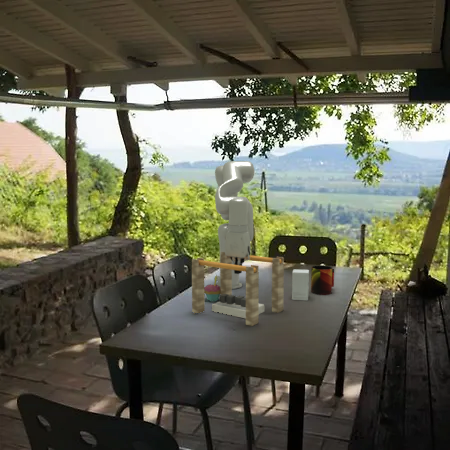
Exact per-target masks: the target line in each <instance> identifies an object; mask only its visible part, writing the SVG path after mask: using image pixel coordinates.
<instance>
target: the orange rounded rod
mask: <svg viewBox="0 0 450 450" xmlns="http://www.w3.org/2000/svg"><path fill="white" fill-rule="evenodd" d="M199 265H203V266H204V267H211V268H219V269H220V268H224V269H231V270H238V271H242V272H245V273H246V267H247V265H242V266H240V265H233V264H225V263H220V262H218V261H217V262H216V261H209V260H204V261H203V260H199ZM254 272H256V268H254Z"/></svg>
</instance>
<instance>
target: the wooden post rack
mask: <svg viewBox="0 0 450 450" xmlns="http://www.w3.org/2000/svg"><path fill="white" fill-rule="evenodd" d="M271 258H272V263H271V312H272V313H276V314H278V313H281V312H283V311H284V290H285V289H284V284H285V283H284V279H285V278H284V277H285V276H284V275H285V263H284V260H285V258H284V257H283V256H276V257H271ZM280 259H281V261H282V262H281V263H280ZM199 260H203V261H205V258H204V257H197V258H193V259H191V296H192V297H191V310H192V311H191V313H192V312H194V313H193V314H195V313H200V312H202V313H204V312H203V311H205V309H206V307H205V304H206V302H205V301H206V300H205V296H206V295H205V293H204V288H205V266H203V265H199ZM219 263H225V264H232V260H231V259H229V258H227V255H225V252H221V257H220V256H219ZM246 266H247V265H246ZM254 268H256V272H254ZM259 273H260V271H259V265H256V264H255V265H254V264H251V265H250V266H247V267H246V272H245V298H246V318H245V325H246V326H250V327H253V326H255V325H257V324H259V315H260V314H259V304H260V303H259V300H260V298H259V296H260V295H259V291H260V290H259V280H260V279H259V278H260V277H259ZM219 276H220V280H221V294H220V295H222V294H229V295H233V291H232V290H233V289H232V270H231V269H224V268H219ZM200 314H201V313H200Z"/></svg>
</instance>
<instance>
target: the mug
mask: <svg viewBox="0 0 450 450" xmlns="http://www.w3.org/2000/svg"><path fill="white" fill-rule="evenodd" d="M310 269H311V270H310V271H311V273H310V282H311V283H310V293H311V294H312V295H313V294H314V295H318V296H328V295H331V294H332V292H333V291H332V289H333V288H334V287H335V268H333V267H332V266H329V265H313V266H311V267H310Z"/></svg>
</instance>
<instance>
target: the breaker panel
mask: <svg viewBox="0 0 450 450" xmlns="http://www.w3.org/2000/svg"><path fill="white" fill-rule="evenodd" d="M211 306H212V307H211V312H212V311H214V312H213V313H217V312H219V313H218V314H222V313H223V315H226V314H227V315H228V316H231V315H232V316H231V317H236V318H237V317H238V318H243V319H246V297H245V296H244V295H237V296H236V295H233V294H232V295H229V294H222V295H221V294H220V296H219V301H216V302H215V303H212V305H211ZM262 313H265V304H264V303H259V315H261V314H262Z"/></svg>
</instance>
